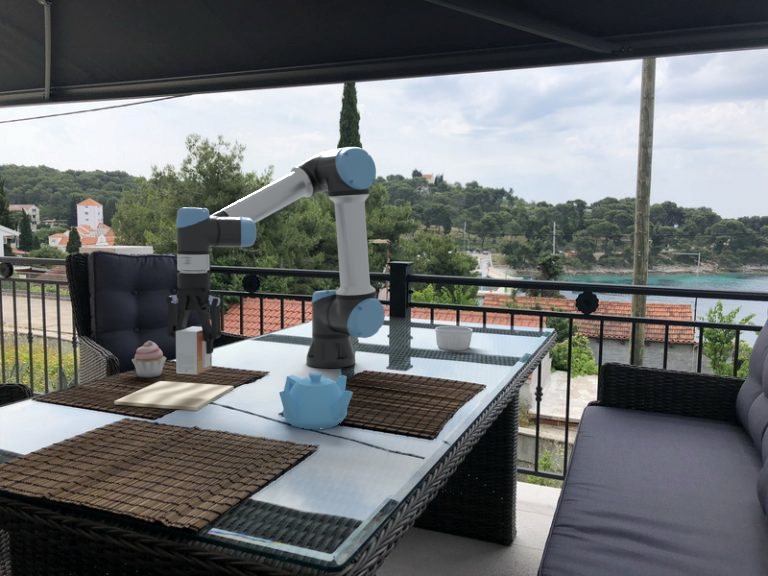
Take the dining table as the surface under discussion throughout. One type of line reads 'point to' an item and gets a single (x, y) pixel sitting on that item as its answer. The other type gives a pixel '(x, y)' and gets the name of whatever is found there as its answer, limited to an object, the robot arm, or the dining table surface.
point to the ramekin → (453, 337)
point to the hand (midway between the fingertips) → (194, 365)
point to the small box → (190, 351)
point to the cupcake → (149, 360)
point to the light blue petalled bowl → (315, 401)
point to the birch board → (175, 395)
